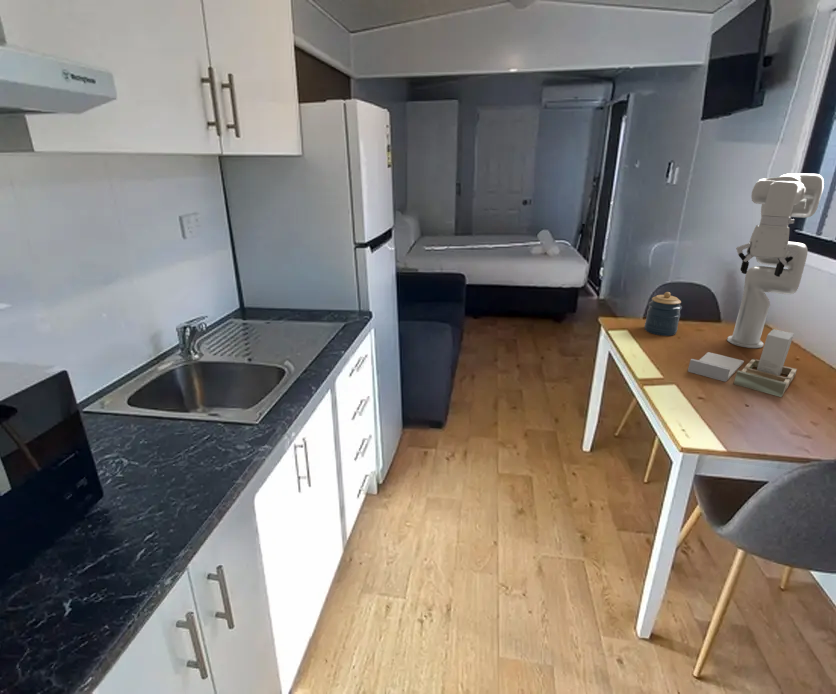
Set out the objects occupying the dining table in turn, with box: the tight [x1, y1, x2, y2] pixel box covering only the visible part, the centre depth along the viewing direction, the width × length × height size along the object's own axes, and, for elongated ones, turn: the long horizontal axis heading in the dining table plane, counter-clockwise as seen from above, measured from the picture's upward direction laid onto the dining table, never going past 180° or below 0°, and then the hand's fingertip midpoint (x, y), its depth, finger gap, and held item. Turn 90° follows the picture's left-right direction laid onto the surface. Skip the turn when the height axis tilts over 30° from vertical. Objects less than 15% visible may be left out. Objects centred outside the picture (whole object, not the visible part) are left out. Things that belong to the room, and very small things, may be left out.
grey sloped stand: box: [687, 351, 745, 383], centre depth 176 cm, size 24×12×4 cm, turn 136°
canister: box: [644, 291, 683, 337], centre depth 210 cm, size 13×13×18 cm
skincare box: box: [756, 328, 795, 376], centre depth 168 cm, size 8×7×16 cm
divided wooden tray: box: [733, 358, 798, 398], centre depth 166 cm, size 24×13×4 cm, turn 136°
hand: (760, 274), depth 163 cm, fingers open, 9 cm apart
